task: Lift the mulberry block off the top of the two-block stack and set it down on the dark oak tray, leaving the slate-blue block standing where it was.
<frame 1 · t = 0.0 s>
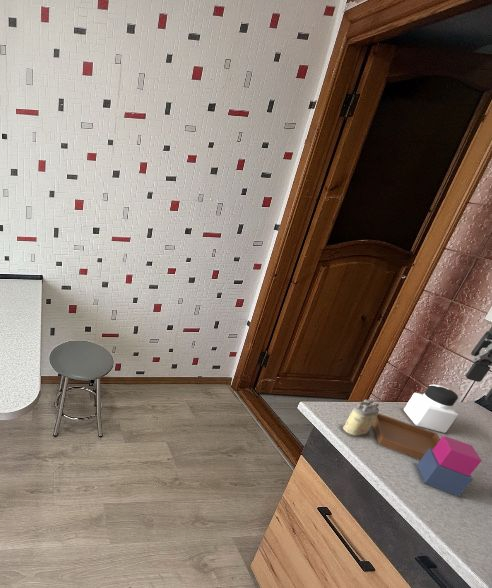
hand: (481, 390, 66), 29 cm above the kitchen counter, tool pointing down, fingers open, 8 cm apart
tray: (406, 441, 91), on the kitchen counter
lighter: (355, 431, 93), on the kitchen counter
mulberry block: (449, 462, 77), point 6 cm above the kitchen counter, touching slate block
slate block: (436, 480, 80), on the kitchen counter, touching mulberry block
medicine bottle: (423, 421, 99), on the kitchen counter
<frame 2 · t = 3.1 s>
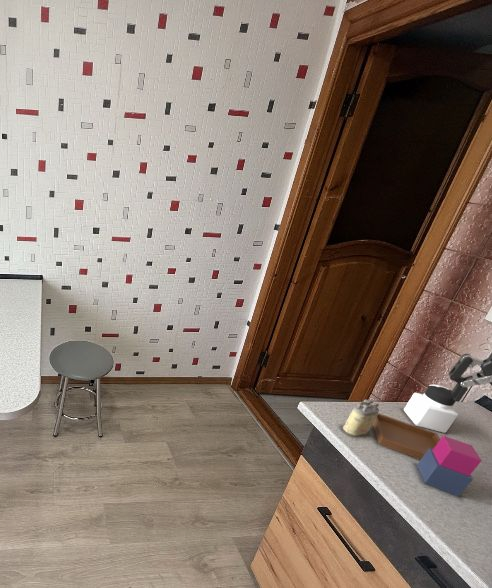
hand: (484, 409, 70), 23 cm above the kitchen counter, tool pointing down, fingers open, 8 cm apart
nothing on the kitchen counter moved.
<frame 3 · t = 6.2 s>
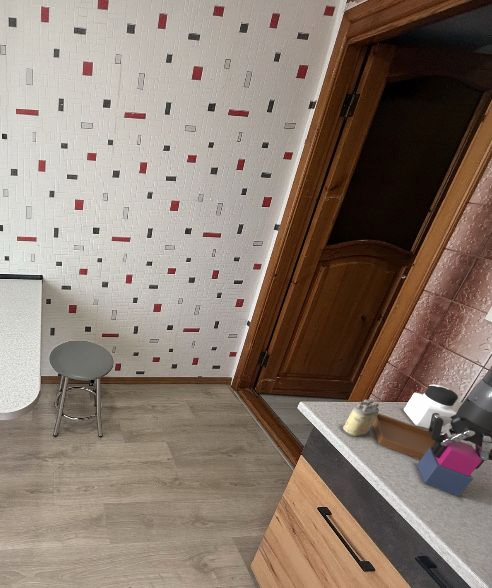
hand: (451, 460, 77), 7 cm above the kitchen counter, tool pointing down, fingers closed on mulberry block, 5 cm apart
mulberry block: (449, 462, 77), point 6 cm above the kitchen counter, touching gripper, slate block
everything else where it was.
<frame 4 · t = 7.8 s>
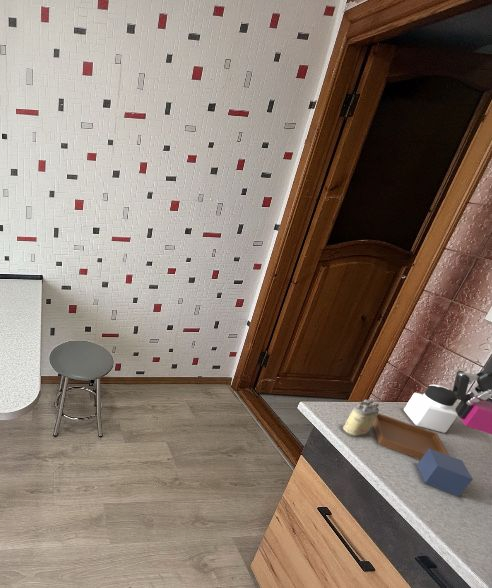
hand: (477, 421, 73), 18 cm above the kitchen counter, tool pointing down, fingers closed on mulberry block, 5 cm apart
mulberry block: (475, 423, 73), point 18 cm above the kitchen counter, touching gripper
slate block: (436, 480, 80), on the kitchen counter
everything else where it was.
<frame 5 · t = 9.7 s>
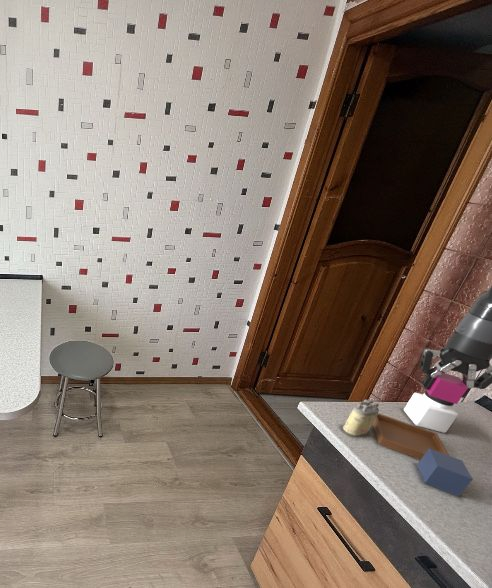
hand: (440, 392, 83), 17 cm above the kitchen counter, tool pointing down, fingers closed on mulberry block, 5 cm apart
mulberry block: (439, 394, 84), point 17 cm above the kitchen counter, touching gripper
everything else where it was.
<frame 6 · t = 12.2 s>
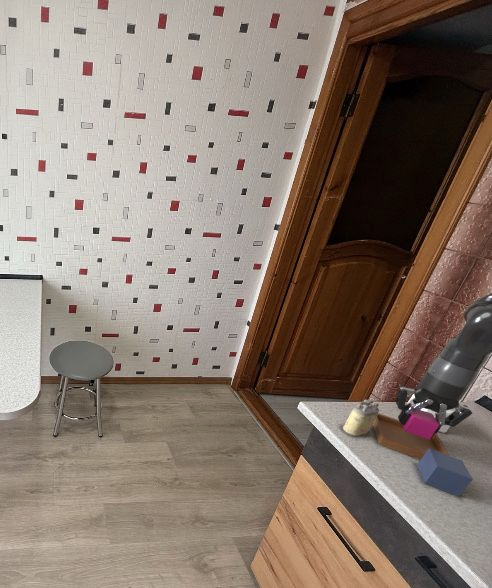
hand: (415, 427, 89), 5 cm above the kitchen counter, tool pointing down, fingers closed on mulberry block, 5 cm apart
mulberry block: (413, 429, 89), point 4 cm above the kitchen counter, touching gripper
everything else where it was.
when the fingers open (1 cm above the kitchen counter, at t = 13.7 s): mulberry block stays where it is, resting on tray.
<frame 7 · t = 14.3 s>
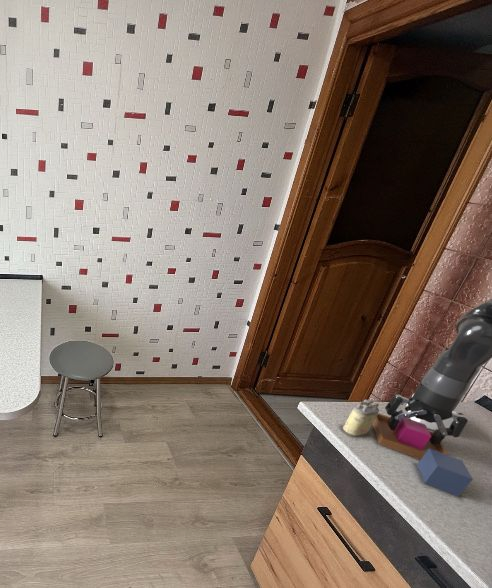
hand: (411, 435, 90), 2 cm above the kitchen counter, tool pointing down, fingers open, 8 cm apart
mulberry block: (407, 439, 91), point 1 cm above the kitchen counter, touching tray
everything else where it was.
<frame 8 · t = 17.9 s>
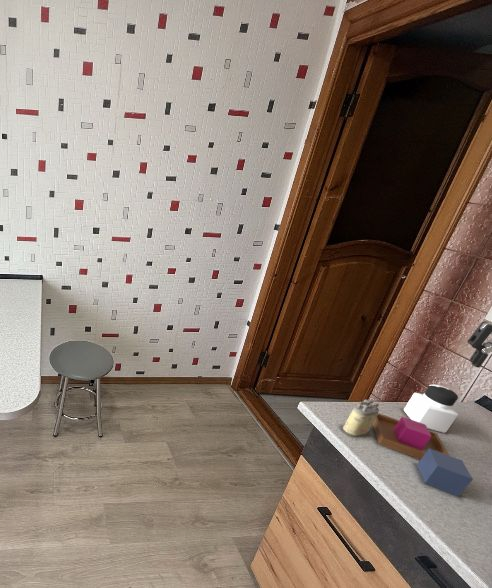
nothing on the kitchen counter moved.
at the end: mulberry block inside the target area in the tray (0.1 cm from its centre), point 0.6 cm above the tray's base; slate block moved 0.0 cm from its start; the gripper is holding nothing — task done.
